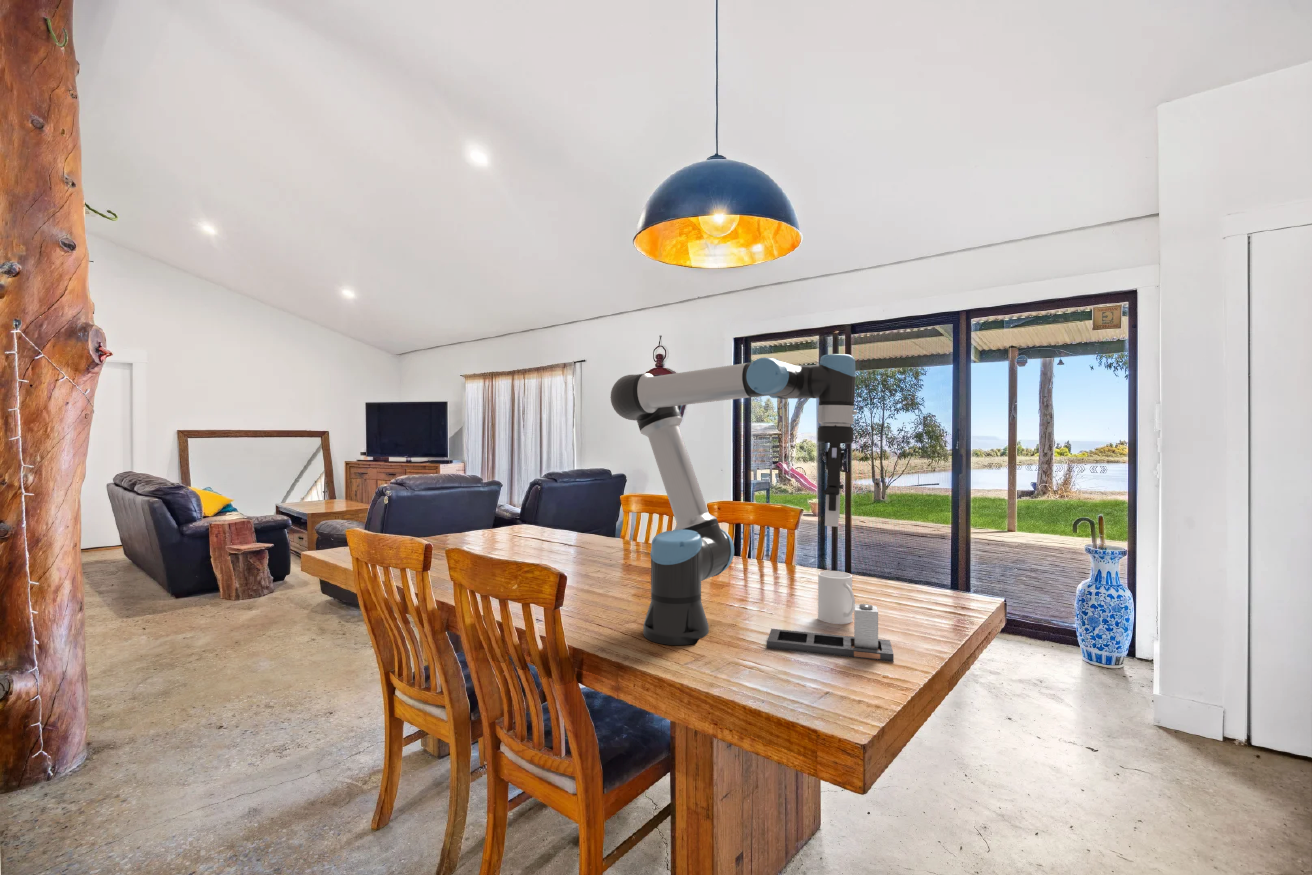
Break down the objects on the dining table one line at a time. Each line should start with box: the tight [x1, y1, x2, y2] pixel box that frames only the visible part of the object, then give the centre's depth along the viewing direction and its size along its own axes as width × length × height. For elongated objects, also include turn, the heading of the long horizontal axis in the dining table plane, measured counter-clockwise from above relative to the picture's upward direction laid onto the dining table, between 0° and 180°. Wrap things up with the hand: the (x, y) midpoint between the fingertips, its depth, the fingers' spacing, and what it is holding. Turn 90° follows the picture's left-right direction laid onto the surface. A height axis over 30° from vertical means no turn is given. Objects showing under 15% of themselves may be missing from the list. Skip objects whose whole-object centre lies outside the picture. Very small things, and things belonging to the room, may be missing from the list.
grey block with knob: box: [853, 603, 879, 650], centre depth 122 cm, size 4×4×10 cm
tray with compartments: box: [766, 628, 894, 663], centre depth 124 cm, size 25×8×2 cm, turn 73°
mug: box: [817, 570, 856, 625], centre depth 143 cm, size 12×8×12 cm
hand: (832, 521), depth 129 cm, fingers open, 13 cm apart
